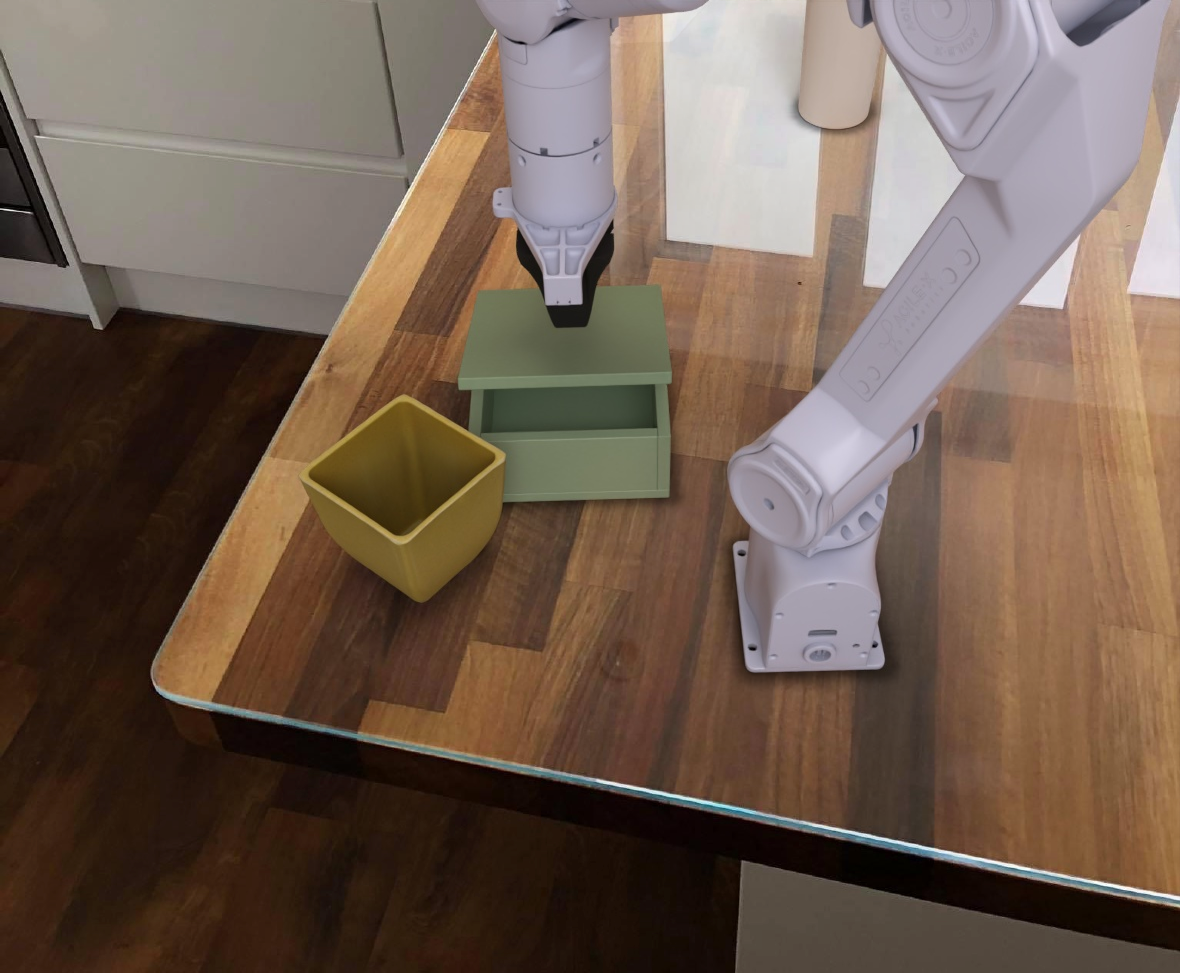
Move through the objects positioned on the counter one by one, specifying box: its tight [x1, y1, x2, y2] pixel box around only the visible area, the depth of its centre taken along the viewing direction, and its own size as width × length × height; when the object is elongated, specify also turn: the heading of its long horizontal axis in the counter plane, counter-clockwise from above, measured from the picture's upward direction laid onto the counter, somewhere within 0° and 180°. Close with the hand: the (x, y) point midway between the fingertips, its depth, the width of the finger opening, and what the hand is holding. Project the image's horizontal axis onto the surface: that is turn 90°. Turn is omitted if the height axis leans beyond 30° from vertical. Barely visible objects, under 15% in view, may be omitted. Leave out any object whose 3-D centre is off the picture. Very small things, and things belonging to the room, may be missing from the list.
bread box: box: [467, 384, 672, 503], centre depth 82 cm, size 14×13×6 cm
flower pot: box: [297, 393, 506, 604], centre depth 74 cm, size 9×9×9 cm
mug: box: [798, 0, 882, 130], centre depth 106 cm, size 10×7×12 cm, turn 153°
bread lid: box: [457, 284, 673, 391], centre depth 78 cm, size 14×13×1 cm
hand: (570, 320), depth 76 cm, fingers closed
